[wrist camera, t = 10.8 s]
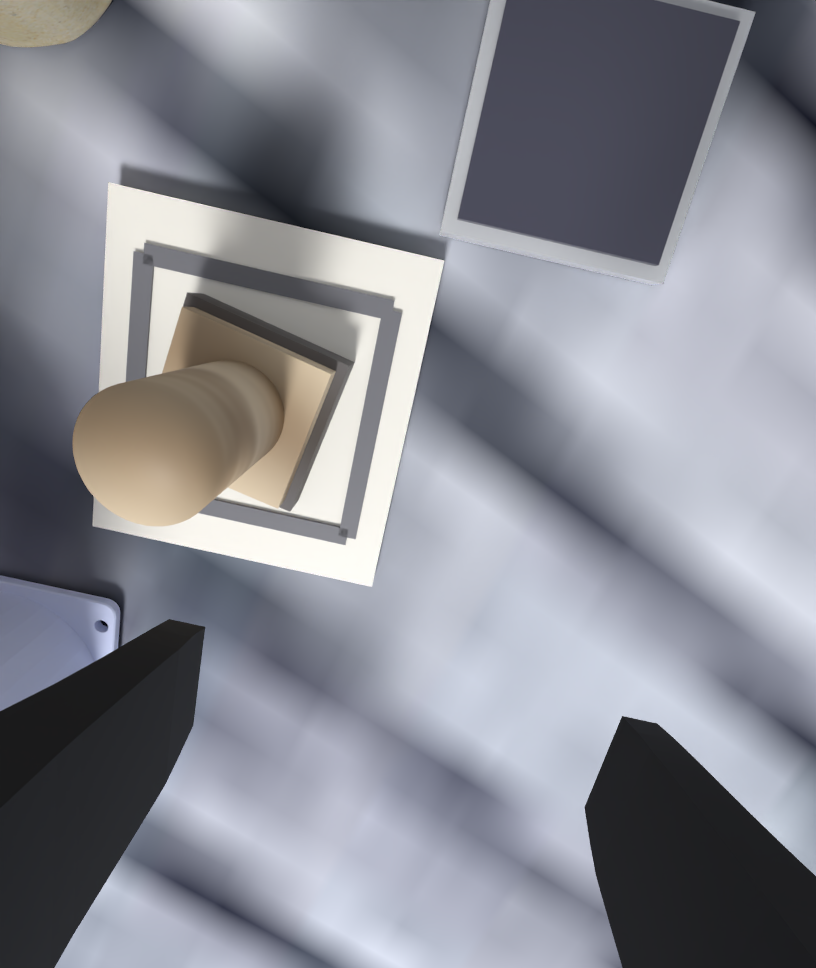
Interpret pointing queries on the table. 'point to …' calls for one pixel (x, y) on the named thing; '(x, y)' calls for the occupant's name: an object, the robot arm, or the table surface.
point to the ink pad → (592, 129)
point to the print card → (300, 311)
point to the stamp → (211, 419)
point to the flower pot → (47, 20)
